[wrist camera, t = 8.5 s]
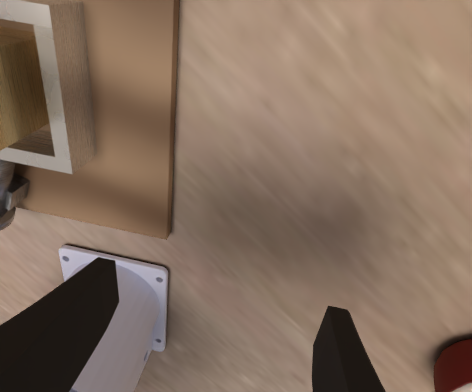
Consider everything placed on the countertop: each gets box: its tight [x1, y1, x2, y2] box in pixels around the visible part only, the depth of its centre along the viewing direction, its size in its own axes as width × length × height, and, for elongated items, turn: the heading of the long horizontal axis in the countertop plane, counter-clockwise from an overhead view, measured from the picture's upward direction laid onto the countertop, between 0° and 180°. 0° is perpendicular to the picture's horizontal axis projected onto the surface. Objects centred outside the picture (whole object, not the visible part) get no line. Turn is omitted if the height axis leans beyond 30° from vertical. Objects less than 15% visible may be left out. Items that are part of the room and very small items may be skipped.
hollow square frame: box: [0, 0, 97, 174], centre depth 17 cm, size 8×8×2 cm
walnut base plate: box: [0, 0, 179, 240], centre depth 18 cm, size 18×16×1 cm
